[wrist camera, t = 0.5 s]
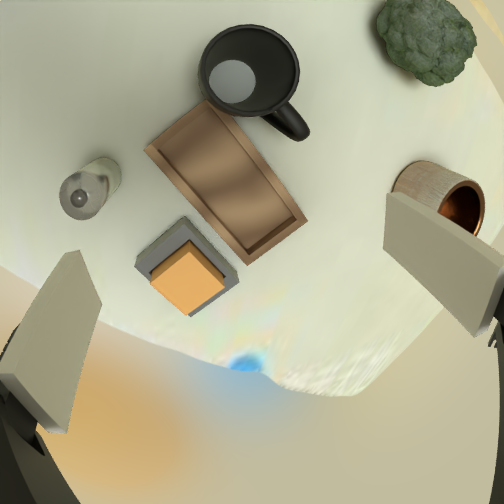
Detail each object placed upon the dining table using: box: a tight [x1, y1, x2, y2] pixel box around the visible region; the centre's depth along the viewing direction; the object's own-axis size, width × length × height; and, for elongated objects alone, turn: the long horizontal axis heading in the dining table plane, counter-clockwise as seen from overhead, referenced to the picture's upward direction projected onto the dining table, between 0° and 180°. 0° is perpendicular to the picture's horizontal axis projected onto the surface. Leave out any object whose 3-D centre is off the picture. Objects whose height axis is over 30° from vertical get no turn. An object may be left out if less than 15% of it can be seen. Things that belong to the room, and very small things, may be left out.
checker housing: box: [134, 216, 239, 317], centre depth 37 cm, size 10×8×2 cm
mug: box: [197, 24, 310, 142], centre depth 26 cm, size 8×12×10 cm
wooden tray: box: [144, 99, 308, 266], centre depth 33 cm, size 18×9×2 cm, turn 36°
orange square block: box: [150, 239, 225, 315], centre depth 35 cm, size 6×6×3 cm
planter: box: [393, 161, 485, 237], centre depth 35 cm, size 11×11×10 cm
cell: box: [59, 158, 121, 220], centre depth 27 cm, size 4×4×9 cm
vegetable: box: [376, 0, 477, 87], centre depth 24 cm, size 12×13×15 cm
